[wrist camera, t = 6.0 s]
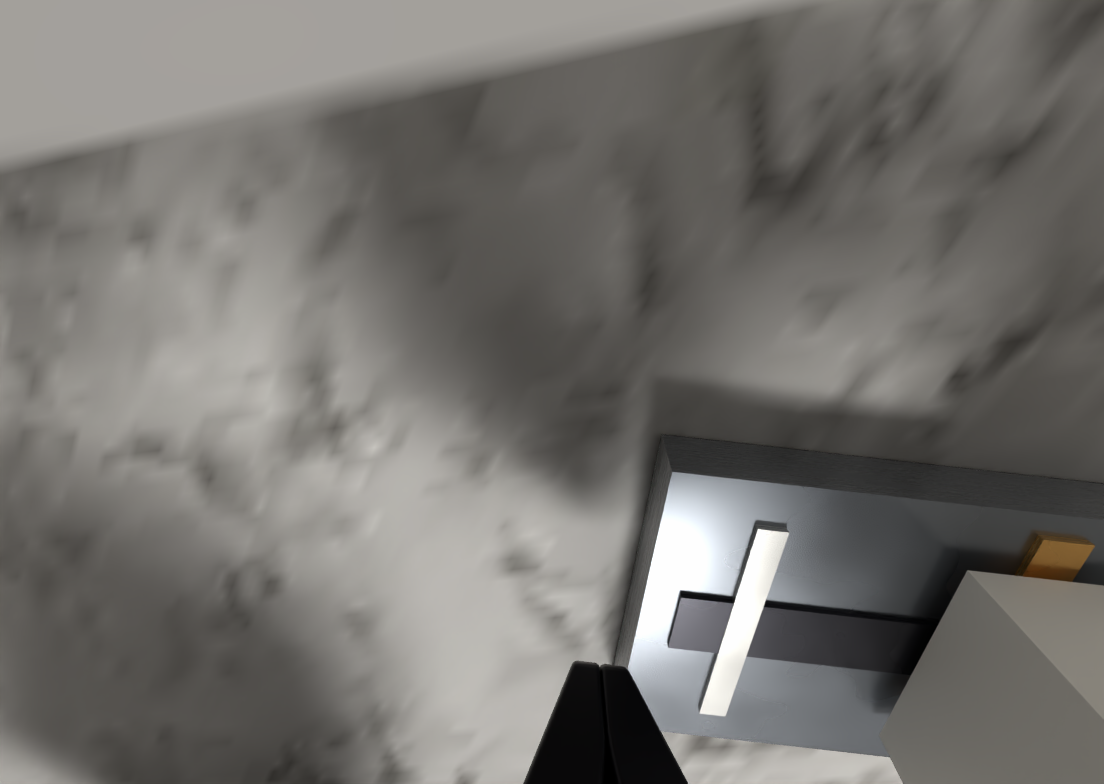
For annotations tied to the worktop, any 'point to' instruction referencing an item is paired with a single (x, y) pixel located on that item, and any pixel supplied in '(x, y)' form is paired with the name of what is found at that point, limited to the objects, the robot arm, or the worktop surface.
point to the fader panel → (822, 581)
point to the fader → (1006, 688)
